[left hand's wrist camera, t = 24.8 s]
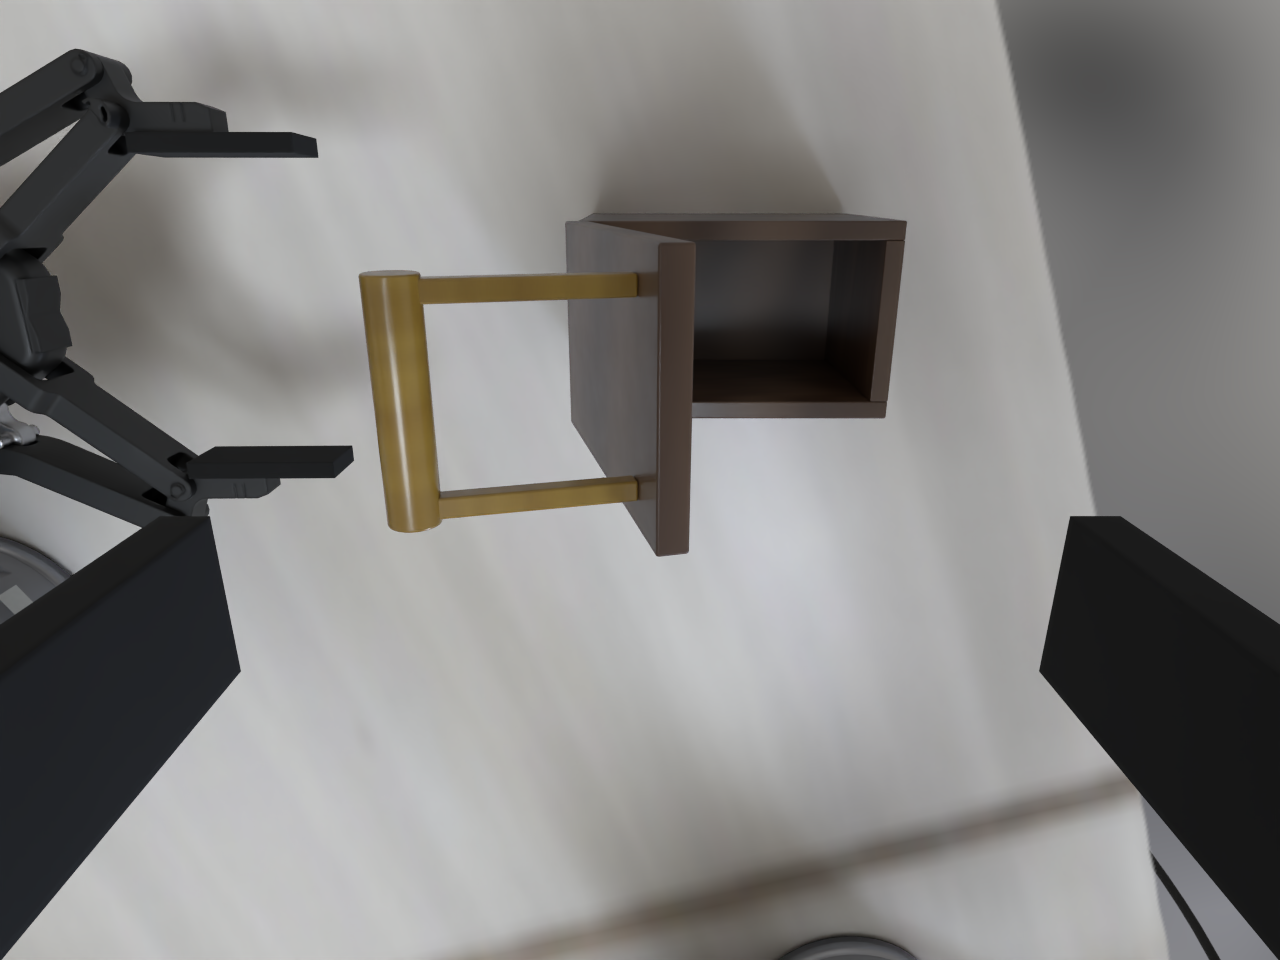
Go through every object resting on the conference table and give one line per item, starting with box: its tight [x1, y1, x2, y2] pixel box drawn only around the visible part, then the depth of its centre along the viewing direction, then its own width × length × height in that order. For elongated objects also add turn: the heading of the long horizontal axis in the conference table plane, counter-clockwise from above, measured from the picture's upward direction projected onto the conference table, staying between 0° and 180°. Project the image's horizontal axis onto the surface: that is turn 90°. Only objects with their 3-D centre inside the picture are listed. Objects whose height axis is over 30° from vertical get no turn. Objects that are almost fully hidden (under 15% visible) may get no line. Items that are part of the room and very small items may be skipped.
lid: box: [359, 221, 696, 556], centre depth 29 cm, size 15×9×9 cm
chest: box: [580, 214, 907, 418], centre depth 42 cm, size 15×9×11 cm, turn 90°
